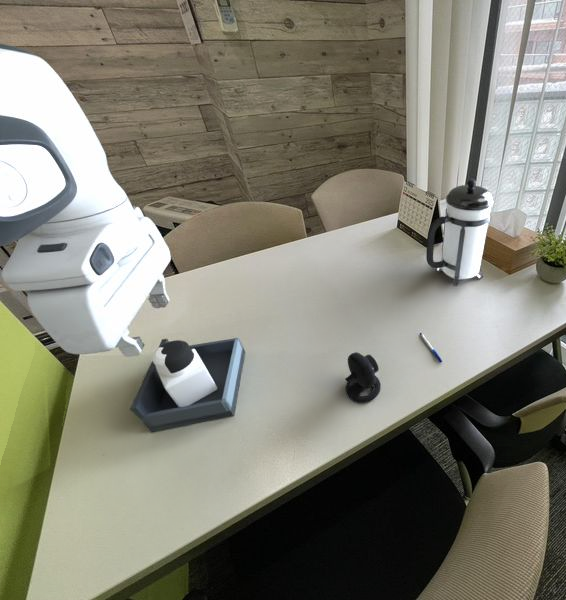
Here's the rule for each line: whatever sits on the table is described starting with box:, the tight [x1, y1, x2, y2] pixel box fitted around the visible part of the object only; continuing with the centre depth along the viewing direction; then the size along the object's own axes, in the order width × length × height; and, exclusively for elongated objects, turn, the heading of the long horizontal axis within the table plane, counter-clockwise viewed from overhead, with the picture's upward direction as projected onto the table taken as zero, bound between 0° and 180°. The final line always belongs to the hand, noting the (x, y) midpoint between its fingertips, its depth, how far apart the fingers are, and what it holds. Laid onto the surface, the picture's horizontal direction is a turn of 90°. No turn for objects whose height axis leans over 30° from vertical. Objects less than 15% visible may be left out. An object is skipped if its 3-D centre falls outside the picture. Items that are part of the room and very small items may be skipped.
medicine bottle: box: [151, 339, 217, 407], centre depth 63 cm, size 7×7×12 cm
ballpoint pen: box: [419, 332, 443, 363], centre depth 79 cm, size 10×1×1 cm, turn 26°
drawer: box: [129, 337, 246, 434], centre depth 67 cm, size 15×18×8 cm
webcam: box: [345, 351, 382, 404], centre depth 66 cm, size 8×8×10 cm
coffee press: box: [425, 178, 494, 287], centre depth 94 cm, size 17×16×30 cm
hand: (150, 326), depth 43 cm, fingers open, 8 cm apart
